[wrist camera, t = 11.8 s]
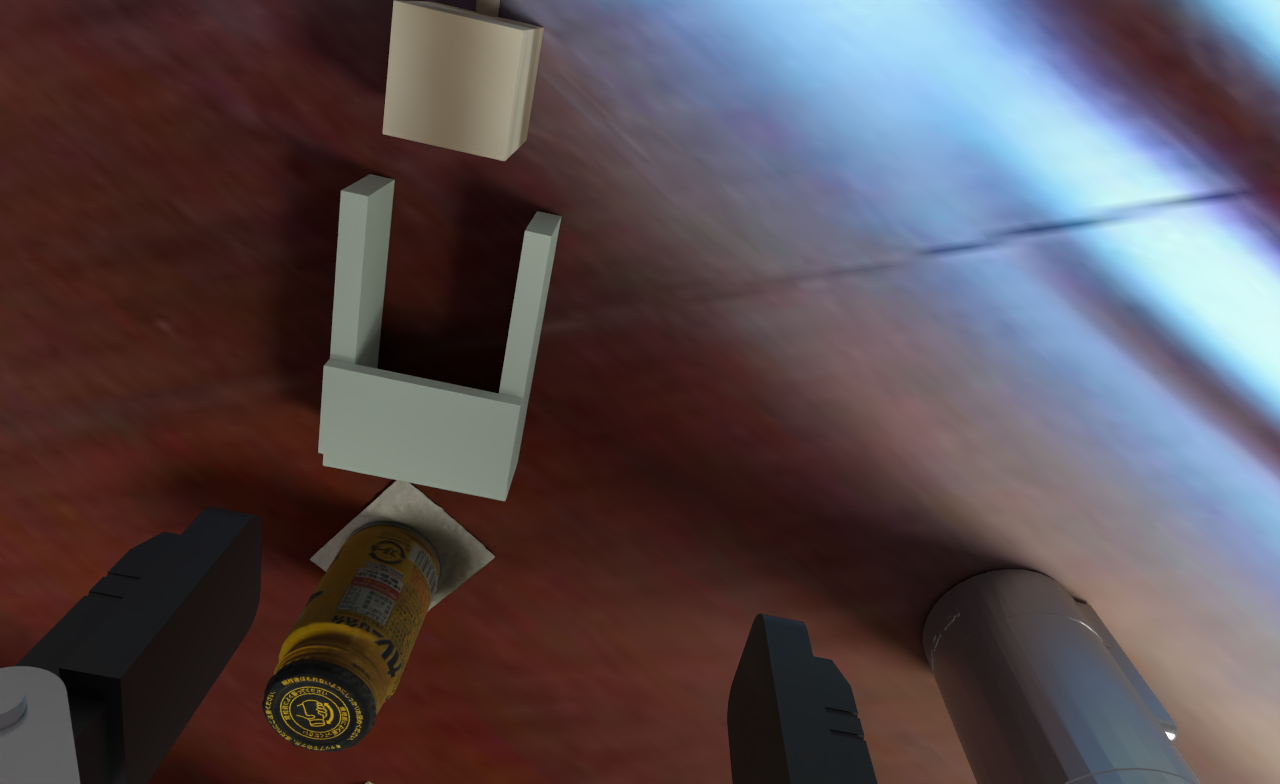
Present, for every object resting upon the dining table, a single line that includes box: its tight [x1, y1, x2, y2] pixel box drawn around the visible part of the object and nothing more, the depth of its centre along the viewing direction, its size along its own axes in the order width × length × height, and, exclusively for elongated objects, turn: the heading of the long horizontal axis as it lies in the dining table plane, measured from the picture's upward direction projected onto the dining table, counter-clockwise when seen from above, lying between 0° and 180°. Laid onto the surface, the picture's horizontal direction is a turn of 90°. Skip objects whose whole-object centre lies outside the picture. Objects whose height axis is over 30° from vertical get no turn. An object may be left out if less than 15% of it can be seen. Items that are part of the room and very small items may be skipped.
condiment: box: [262, 480, 495, 752], centre depth 44 cm, size 7×8×12 cm
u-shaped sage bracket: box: [318, 174, 561, 501], centre depth 42 cm, size 9×14×5 cm, turn 168°
